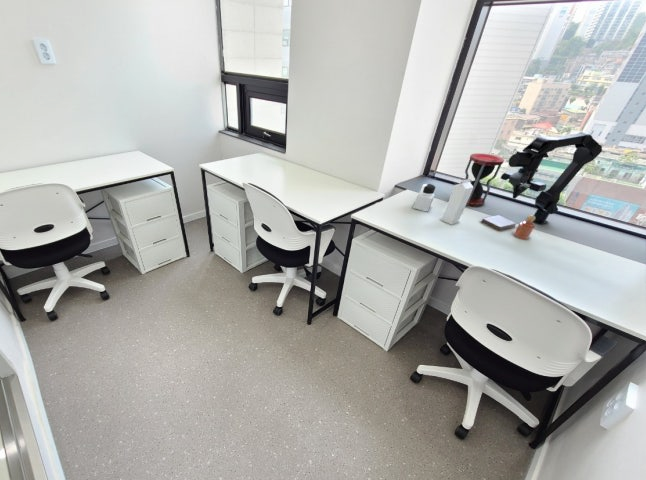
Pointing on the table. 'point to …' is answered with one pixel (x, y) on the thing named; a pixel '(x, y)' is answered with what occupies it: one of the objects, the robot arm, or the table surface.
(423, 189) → the container
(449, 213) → the milk
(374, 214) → the table surface
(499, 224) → the riser
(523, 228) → the bottle
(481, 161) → the hourglass
